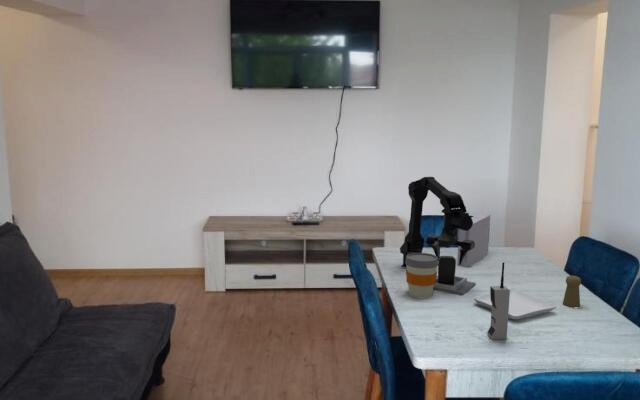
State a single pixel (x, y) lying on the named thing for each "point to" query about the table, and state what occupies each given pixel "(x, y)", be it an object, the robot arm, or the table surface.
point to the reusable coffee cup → (421, 274)
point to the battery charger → (446, 269)
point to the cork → (572, 292)
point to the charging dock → (455, 286)
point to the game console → (476, 239)
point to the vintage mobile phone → (499, 310)
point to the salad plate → (519, 304)
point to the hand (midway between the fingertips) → (449, 262)
